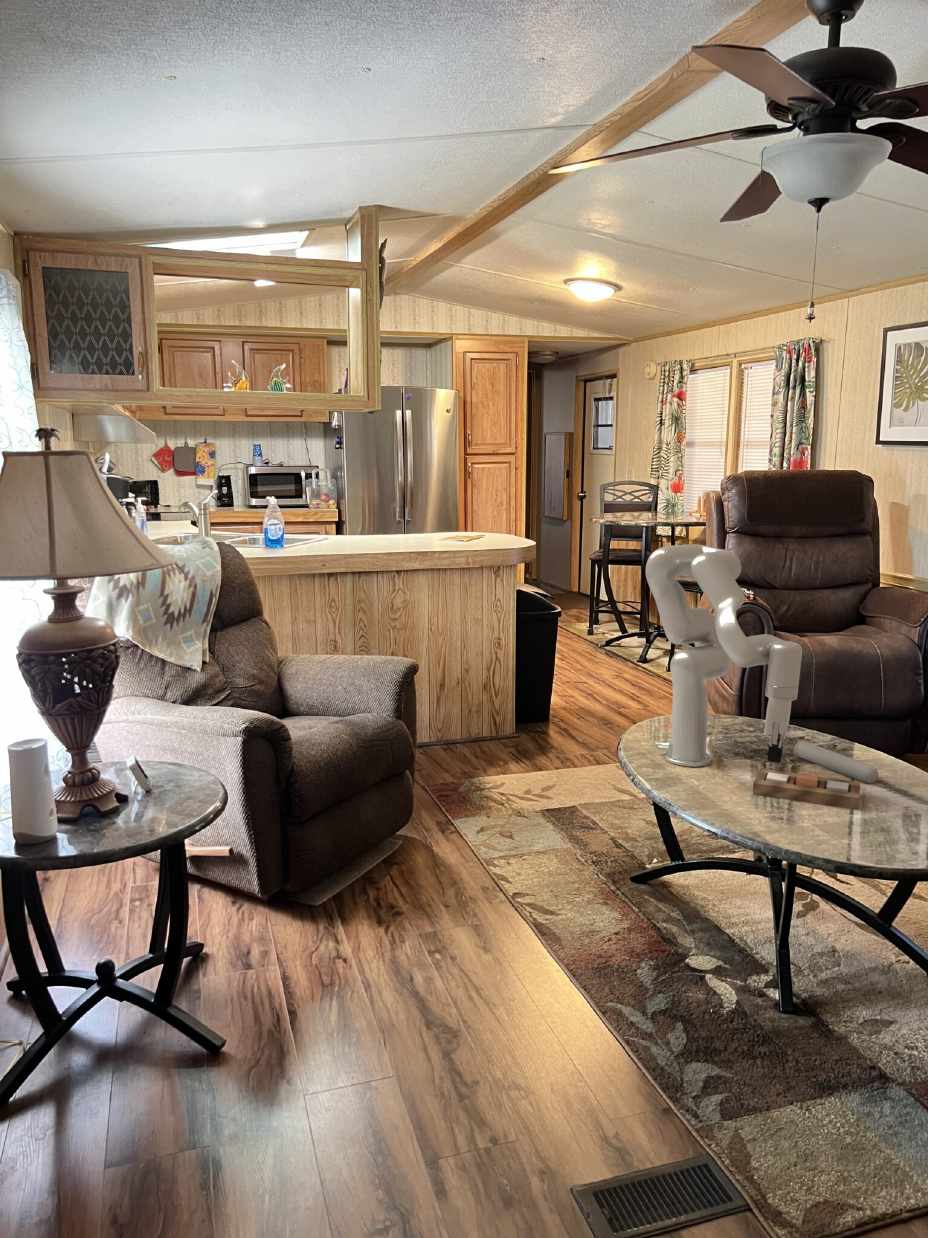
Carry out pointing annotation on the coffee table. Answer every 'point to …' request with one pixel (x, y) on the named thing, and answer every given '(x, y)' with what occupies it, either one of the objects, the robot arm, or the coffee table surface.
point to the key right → (837, 786)
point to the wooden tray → (807, 790)
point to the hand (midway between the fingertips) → (774, 761)
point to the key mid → (807, 779)
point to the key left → (777, 778)
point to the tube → (836, 762)
